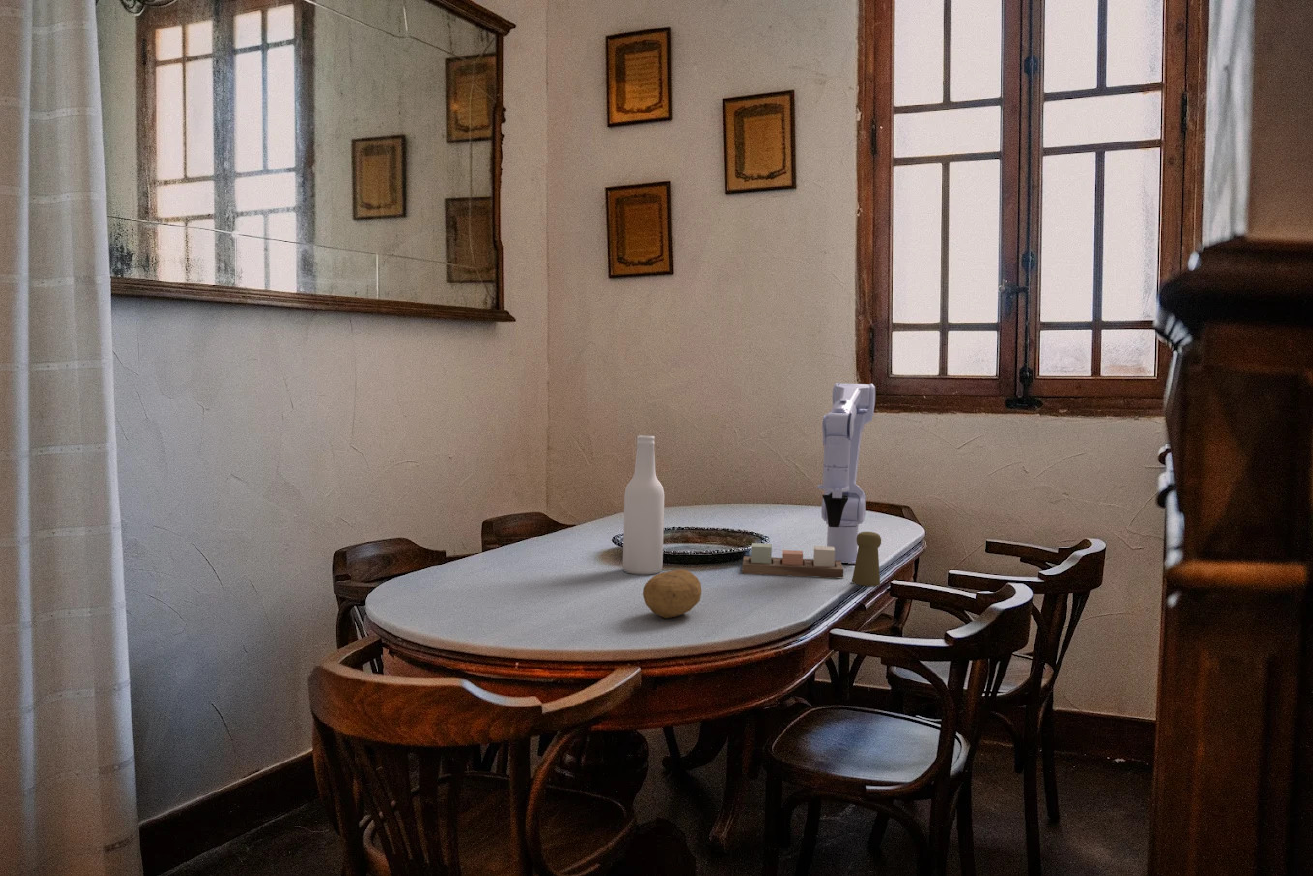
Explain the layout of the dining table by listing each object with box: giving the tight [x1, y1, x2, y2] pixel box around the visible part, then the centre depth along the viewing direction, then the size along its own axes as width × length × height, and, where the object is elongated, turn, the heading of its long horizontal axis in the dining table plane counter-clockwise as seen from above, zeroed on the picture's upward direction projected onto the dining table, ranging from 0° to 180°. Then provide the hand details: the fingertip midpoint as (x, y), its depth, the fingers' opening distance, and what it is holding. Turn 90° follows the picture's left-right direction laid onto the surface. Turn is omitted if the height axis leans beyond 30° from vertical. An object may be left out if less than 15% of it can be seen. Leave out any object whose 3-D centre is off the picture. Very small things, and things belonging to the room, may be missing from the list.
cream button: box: [812, 545, 835, 567], centre depth 231 cm, size 4×4×4 cm
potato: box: [642, 568, 702, 619], centre depth 188 cm, size 10×14×8 cm
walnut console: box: [742, 555, 844, 578], centre depth 232 cm, size 10×22×2 cm, turn 84°
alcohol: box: [622, 434, 665, 576], centre depth 227 cm, size 9×9×30 cm
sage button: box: [750, 542, 773, 564], centre depth 233 cm, size 4×4×4 cm
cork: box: [851, 531, 882, 587], centre depth 221 cm, size 6×6×11 cm
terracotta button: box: [781, 549, 804, 565], centre depth 232 cm, size 4×4×4 cm
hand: (833, 526), depth 231 cm, fingers closed
